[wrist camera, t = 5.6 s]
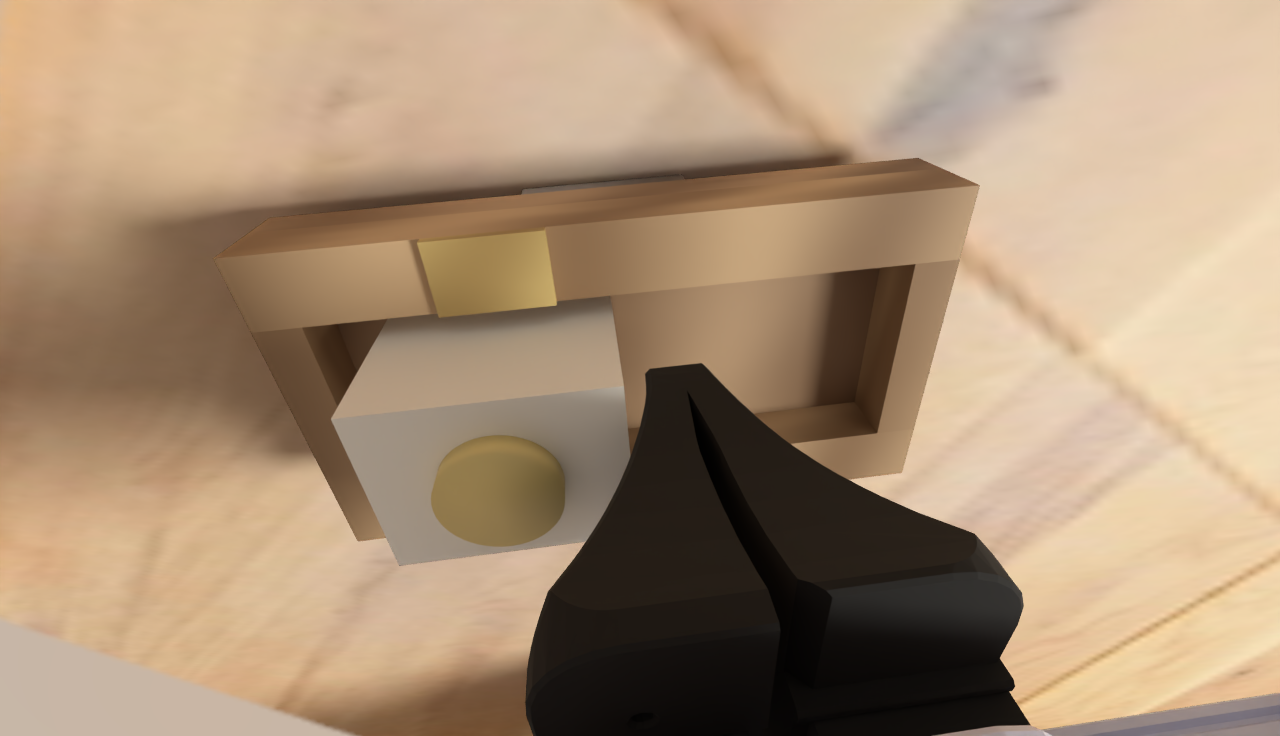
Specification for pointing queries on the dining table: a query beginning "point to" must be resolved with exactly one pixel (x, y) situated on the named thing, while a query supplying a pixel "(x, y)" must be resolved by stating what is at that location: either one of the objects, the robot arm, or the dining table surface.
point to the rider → (489, 429)
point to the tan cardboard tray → (640, 293)
